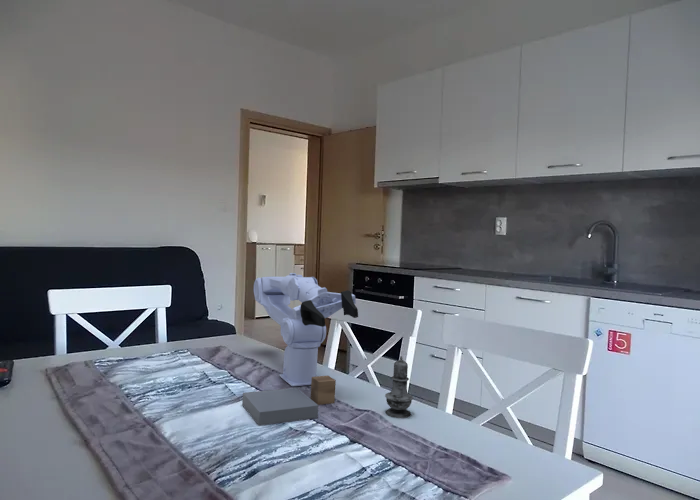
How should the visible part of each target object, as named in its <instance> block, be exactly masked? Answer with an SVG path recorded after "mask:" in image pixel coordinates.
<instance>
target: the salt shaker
mask: <svg viewBox="0 0 700 500" xmlns="http://www.w3.org/2000/svg"><path fill="white" fill-rule="evenodd" d="M408 365H409V364H408V363H407V361H404V359H403V356H400V357H399V360H397V361H395V362H394V363H393V376H391V379H392V387H391V391H390V392H387V393H385V395H384V397H385V398H386V404H387V405H388V407H389V408H388V409H386V410H385V414H386V415H387V416H389V417H391V418H396V419H406V418H410V417H411V416H412V413H411V411H410V410H408V409H409V408H410V406H411V404H412V401H413V400H414V397H413V395H412V394H410V393H408V381H409V380H410V379H409V377H408V368H409V366H408Z"/></svg>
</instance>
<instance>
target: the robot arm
mask: <svg viewBox="0 0 700 500" xmlns="http://www.w3.org/2000/svg"><path fill="white" fill-rule="evenodd" d="M318 283H319V282H318V279H317V278H316V277H315V276H308V277H307V276H303V274H297V273H296V272H289V274H287V275H286V276H262V277H257V278H255V280H254V283H253V295H254V300H255V301H256V302H257V303H258V304H260V306H262V307H263V308H264V309H265V311H266V313H267V314H268V316H269V317H270V318H271V319H272V320H273V321H274V322H276V323H277V324H278V325H279V326H280V336H281V337H282V340H283V342H284V343H285V344H286V345H287V346H286V347H285V348H284V351H283V352H284V353H283V367H282V368H283V371H282V373H281V374H280V373H279V377H280V378H282V380H283V381H285V382H286V383H287V384H289V385H290V386H291V387H302V386H311V380H312V377H316V376H317V372H318V371H317V370H318V369H317V368H318V352H319V350H318V349H319V347H321V344H322V343H323V342H324V341H325V339H326V336H327V326H326V320H325V319H327V318H329V317H330V316H333V315H334V314H335V313H337V312H339V311H340V310H341V309H342V310H343V311H342V312H343V316H350V317H352V318H354V319H356V318H359V311H358V310H359V309H358V308H357V306H356V304H357V301H356V295H355V294H353V293H352V291H350V290H348V289H347V290H343V291H340V293H338V292H330V291H328V289H327V288H326V287H321V286H320V285H319V284H318ZM291 301H292V302H293V301H299V302H300V305H297V306H295V307H292V308H291V306H290V304H291Z"/></svg>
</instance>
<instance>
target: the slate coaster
mask: <svg viewBox="0 0 700 500" xmlns="http://www.w3.org/2000/svg"><path fill="white" fill-rule="evenodd" d="M241 402H242V404H241V405H242V406H243V408H244V409H245V410H246V411H247V413H248V414H249V415H250V417H252V419H253V420H254V421H255V422H256V424H257V425H258V426H266V425H273V424H283V423H288V422H297V421H305V420H311V419H318V417H319V405H317V404H316V403H315V402H314V401H313V400H311V397H309V396H308V395H307V394H305V393H304V392H303V391H302V390H300V388H298V387H289V388H279V389H269V390H259V391H250V392H249V391H248V392H242V401H241Z"/></svg>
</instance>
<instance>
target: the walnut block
mask: <svg viewBox="0 0 700 500" xmlns="http://www.w3.org/2000/svg"><path fill="white" fill-rule="evenodd" d="M336 383H337V382H336V379H334V378H333V377H331V376H330V375H319V376H317V375H316V377H312V380H311V385H310V399H311V400H313V401H314V402H315V403H316V404H317V405H318V406H323V405H328V404H330V405H331V404H335V403H336V401H335V400H336Z"/></svg>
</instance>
